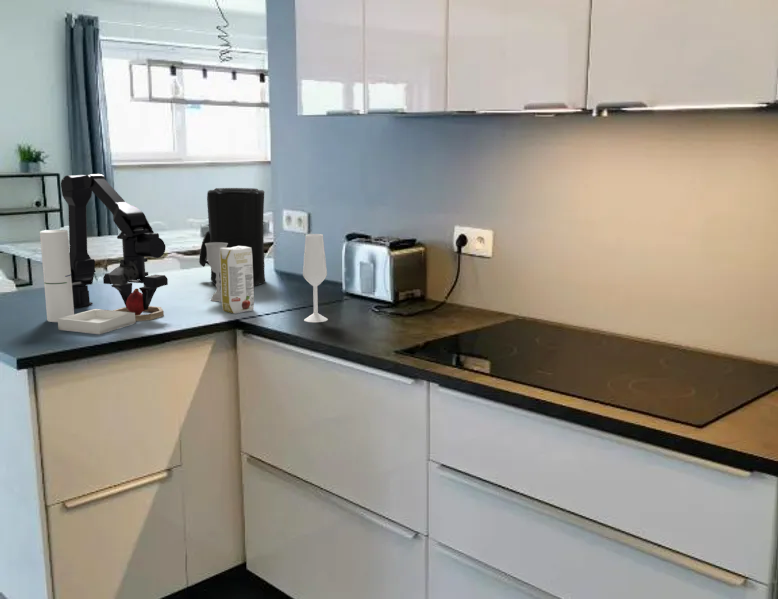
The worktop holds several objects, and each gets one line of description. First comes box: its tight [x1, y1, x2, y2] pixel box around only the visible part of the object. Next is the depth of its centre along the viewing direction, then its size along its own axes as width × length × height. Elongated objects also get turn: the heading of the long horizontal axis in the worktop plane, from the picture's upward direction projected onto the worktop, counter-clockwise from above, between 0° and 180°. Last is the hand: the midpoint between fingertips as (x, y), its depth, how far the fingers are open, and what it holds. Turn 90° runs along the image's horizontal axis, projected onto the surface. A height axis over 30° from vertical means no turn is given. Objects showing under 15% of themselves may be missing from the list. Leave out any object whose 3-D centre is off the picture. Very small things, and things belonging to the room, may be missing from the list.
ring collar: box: [112, 305, 165, 322], centre depth 230 cm, size 14×14×2 cm
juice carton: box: [220, 246, 255, 315], centre depth 235 cm, size 8×9×19 cm
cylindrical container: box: [39, 229, 75, 323], centre depth 223 cm, size 7×7×25 cm
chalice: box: [205, 242, 228, 302], centre depth 252 cm, size 7×7×18 cm
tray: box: [57, 308, 137, 335], centre depth 217 cm, size 14×14×3 cm
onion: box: [125, 288, 145, 315], centre depth 229 cm, size 6×6×8 cm
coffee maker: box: [198, 187, 266, 287], centre depth 281 cm, size 23×32×34 cm
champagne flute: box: [302, 233, 329, 323], centre depth 223 cm, size 7×7×24 cm
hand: (137, 309), depth 230 cm, fingers closed on onion, 6 cm apart
